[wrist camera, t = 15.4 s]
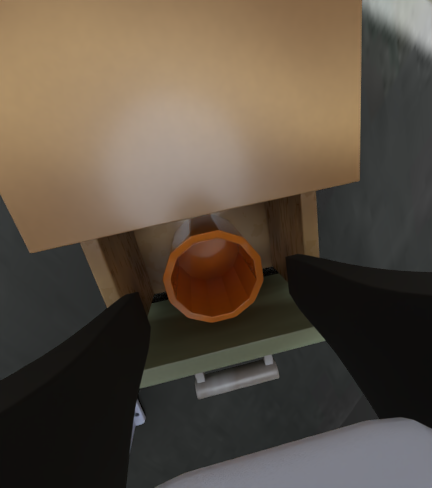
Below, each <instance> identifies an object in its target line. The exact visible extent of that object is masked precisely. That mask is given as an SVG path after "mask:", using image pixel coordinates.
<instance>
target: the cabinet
mask: <svg viewBox="0 0 432 488" xmlns="http://www.w3.org/2000/svg"><path fill="white" fill-rule="evenodd" d="M361 33H362V0H0V194H1V196H2V198H3V200H4V202H5V204H6V206H7V208H8V210H9V212H10V214H11V216H12V218H13V220H14V222H15V224H16V226H17V228H18V230H19V232H20V234H21V236H22V238H23V240H24V242H25V244H26V246H27V248H28V250H29V252H30V253H35V252H39V251H44V250H48V249H53V248H57V247H62V246H67V245H71V244H76V243H80V242H85V241H89V240H94V239H98V238H103V237H107V236H112V235H116V234H121V233H126V232H130V231H135V230H139V229H144V228H148V227H153V226H157V225H162V224H166V223H171V222H176V221H180V220H185V219H189V218H194V217H198V216H203V215H207V214H212V213H216V212H221V211H225V210H230V209H235V208H239V207H244V206H248V205H253V204H257V203H262V202H266V201H271V200H275V199H280V198H285V197H289V196H294V195H298V194H303V193H307V192H312V191H316V190H321V189H325V188H330V187H335V186H339V185H344V184H348V183H353V182H357V181H359V180H360V115H361Z"/></svg>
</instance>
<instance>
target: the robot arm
mask: <svg viewBox="0 0 432 488" xmlns="http://www.w3.org/2000/svg"><path fill="white" fill-rule="evenodd" d="M285 259H286V269H287V278H288V288H289V294H290V295H291V297H292V299H293V300H294V302H295V304H296V305H297V307H298V308H299V310H300V311H301V312H302V313H303V314H304V316H305V317H306V318H307V319H308V320H309V322H310V323H311V324H312V325H313V326H314V327H315V329H316V330H317V331H318V332H319V333H320V334H321V336H322V337H323V338H324V339H325V340H326V342H327V343H328V344H329V345H330V346H331V348H332V349H333V350H334V351H335V353H336V354H337V355H338V357H339V358H340V360H341V361H342V362H343V364H344V365H345V367H346V368H347V370H348V371H349V373H350V374H351V375H352V377H353V378H354V380H355V382H356V383H357V385H358V386H359V388H360V389H361V391H362V392H363V394H364V395H365V397H366V398H367V400H368V401H369V403H370V404H371V406H372V408H373V409H374V411H375V412H376V414H377V416H378V417H379V419H378V420H367V421H363V422H360V423H356V424H353V425H349V426H346V427H342V428H339V429H335V430H332V431H328V432H325V433H321V434H318V435H315V436H311V437H308V438H304V439H301V440H297V441H294V442H290V443H287V444H283V445H280V446H276V447H273V448H269V449H266V450H262V451H259V452H256V453H252V454H249V455H245V456H242V457H238V458H235V459H231V460H228V461H224V462H221V463H217V464H214V465H210V466H207V467H204V468H200V469H197V470H193V471H190V472H186V473H183V474H181V475H179V476H177V477H175V478H173V479H171V480H169V481H167V482H165V483H163V484H161V485H159V486H157V487H155V488H432V272H411V271H396V270H386V269H377V268H369V267H362V266H357V265H351V264H346V263H341V262H336V261H331V260H327V259H322V258H318V257H314V256H309V255H303V254H295V255H290V256H286V257H285ZM150 333H151V326H150V323H149V320H148V318H147V315H146V312H145V309H144V306H143V303H142V301H141V298H140V295H139V292H134V293H130V294H126V295H124V296H122V297H121V298H119V299H118V300H117V301H116V302H114V303H113V304H112V305H111V306H109V307H108V308H107V309H106V310H104V311H103V312H102V313H101V314H100V315H98V316H97V317H96V318H95V319H93V320H92V321H91V322H90V323H88V324H87V325H86V326H84V327H83V328H82V329H81V330H79V331H78V332H77V333H75V334H74V335H73V336H71V337H70V338H69V339H67V340H66V341H64V342H63V343H62V344H60V345H59V346H57V347H56V348H54V349H53V350H51V351H50V352H48V353H47V354H45V355H43V356H42V357H40V358H39V359H37V360H35V361H34V362H32V363H30V364H28V365H27V366H25V367H23V368H22V369H20V370H18V371H17V372H15V373H13V374H11V375H10V376H8V377H6V378H4V379H3V380H1V381H0V488H126V482H127V472H128V462H129V454H130V450H131V445H132V440H133V435H134V430H135V426H137V425H141V424H143V423H144V422H145V415H144V413H143V410H142V408H141V406H140V403H139V401H138V399H137V397H138V393H139V388H140V384H141V380H142V376H143V372H144V367H145V363H146V359H147V355H148V350H149V344H150Z"/></svg>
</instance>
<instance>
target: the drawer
mask: <svg viewBox="0 0 432 488" xmlns="http://www.w3.org/2000/svg"><path fill="white" fill-rule="evenodd" d="M211 215H216V216H220V217H222V218H224V219H227V220H229V221H230V222H231V223H232V225H233V226H234V227H235V228H236V229H237V230H238V231H239V232H240V234H241V235H242V236H243V237H244V238H245V239H246V240H247V241H248V243H249V244H250V245H251V246H252V247H253V248H254V249H255V251H256V252H257V253H258V254H259V255H260V257H261V263H262V269H263V268H267V267H272V266H273V267H274V268H275V269H276V270H277V272H278V274H274V275H269V276H265V277H264V280H263V283H262V285H261V288H260V290H259V292H258V295H257V297H256V299H255V301H254V302H253V303H252V304H251V305H250V306H249V307H247V308H246V309H245V310H244V311H242V312H241V313H240V314H239V315H238V316H236V317H234V318H230V319H226V320H222V321H218V322H214V323H210V322H205V321H200V320H195V319H191V318H187V317H186V316H185V315H184V314H183V313H182V312H180V311H179V310H178V309H177V308H176V307H174V306H173V305H172V304H171V303H170V302H169V300H165V301H161V302H156V303H152V300H153V296H154V294H158V293H162V292H166V289H165V286H164V283H163V275H164V271H165V267H166V262H167V258H168V254H169V250H170V246H171V243H172V239H173V236H174V233H175V231H176V230H177V229H178V228H179V227H180V226H181V225H182V224H183V223H184V222H185V221H187V220H188V219H185V220H180V221H176V222H171V223H166V224H162V225H157V226H153V227H148V228H144V229H139V230H135V231H130V232H126V233H121V234H116V235H112V236H107V237H103V238H98V239H94V240H89V241H85V242H80V244H81V247H82V249H83V252H84V254H85V256H86V259H87V261H88V264H89V266H90V268H91V271H92V273H93V275H94V278H95V280H96V283H97V285H98V287H99V290H100V292H101V295H102V297H103V299H104V302H105V304H106V307H107V308H108V307H109V306H111V305H112V304H113V303H114V302H116V301H117V300H118V299H119V298H121V297H122V296H124V295H126V294H130V293H134V292H139V295H140V298H141V301H142V303H143V306H144V309H145V312H146V315H147V318H148V320H149V323H150V326H151V333H150V344H149V350H148V355H147V359H146V363H145V367H144V372H143V376H142V380H141V384H140V388H144V387H148V386H152V385H156V384H160V383H164V382H167V381H171V380H175V379H179V378H183V377H187V376H191V375H194V374H195V389H196V394H197V397H198V399H202V398H206V397H210V396H213V395H217V394H221V393H225V392H228V391H232V390H236V389H240V388H243V387H247V386H251V385H255V384H259V383H262V382H266V381H270V380H274V379H277V378H279V372H278V368H277V365H276V362H275V360H274V359H273V357H272V354H275V353H279V352H283V351H287V350H291V349H295V348H299V347H302V346H306V345H310V344H314V343H318V342H322V341H325V339H324V338H323V337H322V336H321V334H320V333H319V332H318V331H317V330H316V329H315V327H314V326H313V325H312V324H311V323H310V322H309V320H308V319H307V318H306V317H305V316H304V314H303V313H302V312H301V311H300V310H299V308H298V307H297V305H296V304H295V302H294V300H293V299H292V297H291V295H290V294H289V288H288V278H287V269H286V259H285V257H286V256H290V255H295V254H303V255H309V256H314V257H318V258H319V243H318V223H317V203H316V191H312V192H307V193H303V194H298V195H294V196H289V197H285V198H280V199H275V200H271V201H266V202H262V203H257V204H253V205H248V206H244V207H239V208H235V209H230V210H225V211H221V212H216V213H212V214H211ZM189 219H190V218H189ZM260 357H263V360H259V361H255V362H251V363H247V364H243V365H240V366H236V367H232V368H228V369H224V370H220V371H216V372H213V373H209V374H205V373H204V372H206V371H210V370H214V369H218V368H221V367H225V366H229V365H233V364H237V363H241V362H245V361H248V360H252V359H256V358H260ZM140 388H139V389H140Z"/></svg>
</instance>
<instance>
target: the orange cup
mask: <svg viewBox="0 0 432 488" xmlns="http://www.w3.org/2000/svg"><path fill="white" fill-rule="evenodd" d="M263 280H264V277H263V270H262V263H261V257H260V255H259V254H258V253H257V252H256V251H255V249H254V248H253V247H252V246H251V245H250V244H249V243H248V241H247V240H246V239H245V238H244V237H243V236H242V235H241V234H240V232H239V231H238V230H237V229H236V228H235V227H234V226H233V225H232V223H231V222H230V221H229V220H227V219H224V218H222V217H220V216H216V215H211V214H207V215H203V216H198V217H194V218H190V219H188V220H187V221H185V222H184V223H183V224H182V225H181V226H180V227H179V228H178V229H177V230H176V231H175V233H174V236H173V239H172V243H171V246H170V250H169V254H168V258H167V262H166V267H165V271H164V275H163V283H164V286H165V289H166V292H167V296H168V299H169V302H170V303H171V304H172V305H173V306H174V307H176V308H177V309H178V310H179V311H180V312H182V313H183V314H184V315H185V316H186V317H187V318H191V319H195V320H200V321H205V322H210V323H214V322H218V321H222V320H226V319H230V318H234V317H236V316H238V315H239V314H240V313H241V312H242V311H244V310H245V309H246V308H247V307H249V306H250V305H251V304H252V303H253V302H254V301H255V299H256V297H257V295H258V292H259V290H260V288H261V285H262V283H263Z"/></svg>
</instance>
